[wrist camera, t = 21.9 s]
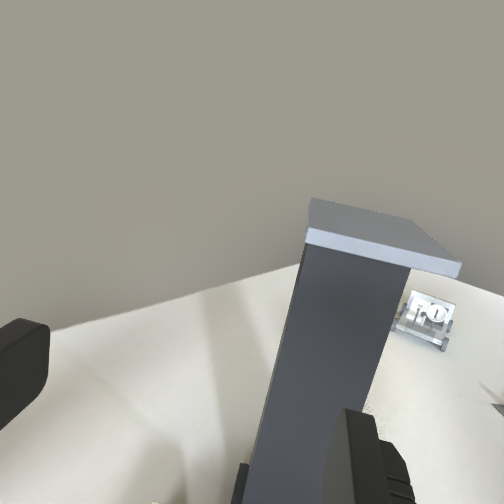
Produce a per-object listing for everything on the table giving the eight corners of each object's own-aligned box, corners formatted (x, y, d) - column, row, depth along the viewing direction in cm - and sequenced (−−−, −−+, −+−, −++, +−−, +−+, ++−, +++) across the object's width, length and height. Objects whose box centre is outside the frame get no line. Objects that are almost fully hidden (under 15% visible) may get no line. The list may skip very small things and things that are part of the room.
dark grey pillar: (209, 593, 33) (299, 225, 24) (238, 470, 45) (305, 195, 36) (328, 632, 32) (472, 265, 23) (325, 495, 44) (417, 221, 35)
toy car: (459, 316, 79) (400, 295, 84) (442, 358, 82) (386, 335, 87) (463, 293, 94) (413, 276, 100) (449, 330, 97) (401, 311, 102)
